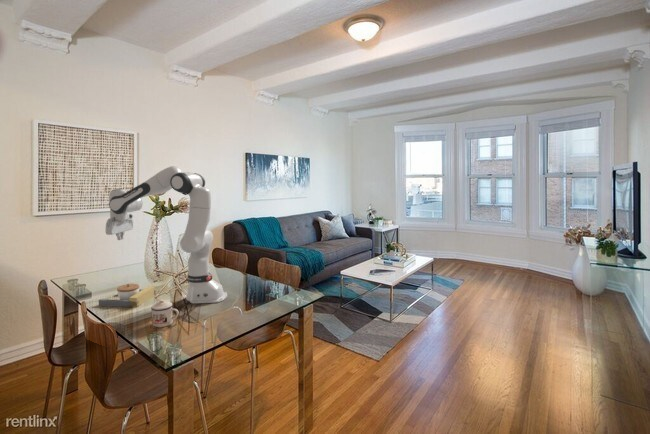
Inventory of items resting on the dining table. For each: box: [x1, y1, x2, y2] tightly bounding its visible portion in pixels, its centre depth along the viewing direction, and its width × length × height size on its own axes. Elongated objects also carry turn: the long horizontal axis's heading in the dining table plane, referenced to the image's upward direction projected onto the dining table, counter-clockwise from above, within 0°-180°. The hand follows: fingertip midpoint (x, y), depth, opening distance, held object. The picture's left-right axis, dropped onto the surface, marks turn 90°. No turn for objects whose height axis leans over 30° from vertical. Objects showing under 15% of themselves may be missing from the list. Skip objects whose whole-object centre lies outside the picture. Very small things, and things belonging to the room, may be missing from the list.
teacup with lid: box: [150, 299, 180, 328], centre depth 159 cm, size 12×9×12 cm
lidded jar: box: [116, 283, 140, 300], centre depth 187 cm, size 11×11×9 cm
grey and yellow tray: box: [98, 285, 156, 308], centre depth 187 cm, size 21×18×5 cm
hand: (120, 239), depth 199 cm, fingers closed
